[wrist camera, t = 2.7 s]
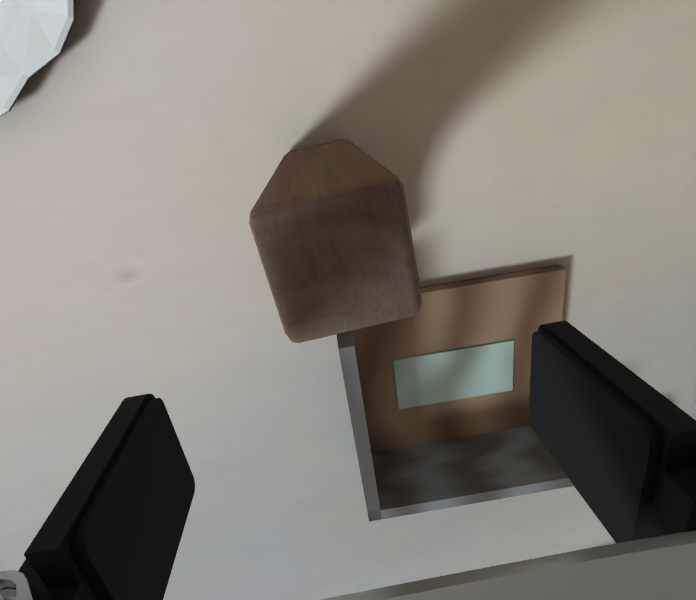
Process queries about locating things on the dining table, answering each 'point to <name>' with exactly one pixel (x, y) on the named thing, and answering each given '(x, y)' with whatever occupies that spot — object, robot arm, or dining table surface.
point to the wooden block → (336, 242)
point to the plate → (30, 41)
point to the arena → (452, 396)
